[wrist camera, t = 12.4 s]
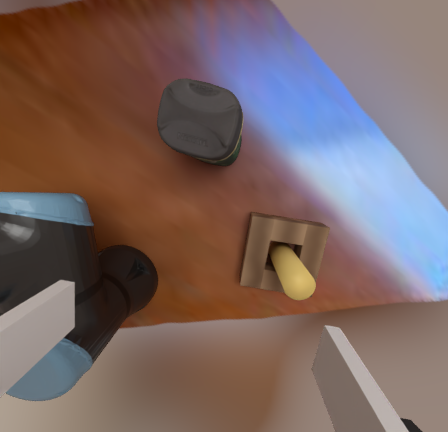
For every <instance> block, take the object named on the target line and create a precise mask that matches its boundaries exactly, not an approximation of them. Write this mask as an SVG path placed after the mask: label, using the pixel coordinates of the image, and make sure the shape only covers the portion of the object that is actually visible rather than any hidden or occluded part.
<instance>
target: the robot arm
mask: <svg viewBox="0 0 448 432" xmlns="http://www.w3.org/2000/svg"><path fill="white" fill-rule="evenodd" d="M93 226H94V223H93V222H92V220H91V217H90V213H89V209H88V205H87V203H86V201H85V200H84V198H82V197H81V196H79V195H77V194H73V193H29V192H0V397H2V396H3V395H4V394H5V393H6V394H8V395H10V396H13V397H16V398H19V399H24V400H30V401H45V400H51V399H54V398H57V397H59V396H61V395H63V394H65V393H66V392H68V391H69V390H70V389H71V388H72V387H73V386H74V385H75V384H76V383H77V381H78V380H79V379H80V378H81V376H83V374H84V373H85V372H87V371H88V370H89V369H90V368H91V366H92V364H93V363H94V361H95V360H96V359H97V357H98V356H99V355H100V353H101V352H102V350H103V349H104V348H105V347H106V345H107V344H108V342H109V341H110V340H111V338H112V337H113V335H114V334H115V333H116V331H117V330H118V329H119V327H120V326H121V325H122V323H123V322H124V321H125V319H126V318H128V317H129V316H130V315H132V314H133V313H135V312H137V311H139V310H141V309H142V308H144V307H145V306H146V305H147V304H148V303H149V301H150V300H151V298H152V297H153V295H154V294H155V292H156V289H157V285H158V277H157V272H156V269H155V267H154V265H153V263H152V262H151V260H150V259H149V258H148V257H147V256H146V255H145V254H144V253H142V252H141V251H139V250H137V249H135V248H133V247H130V246H124V245H116V246H111V247H108V248H106V249H104V250H102V251H101V252H99V253H98V251H97V246H96V241H95V236H94V230H93ZM312 371H313V374H314V376H315V379H316V382H317V385H318V387H319V390H320V392H321V395H322V398H323V400H324V403H325V405H326V408H327V411H328V413H329V415H330V418H331V421H332V424H333V426H334V429H335V431H336V432H422V431H421V430H420V429H419V428H418V427H417V426H416V425H415V424H414V423H413V422H412V421H411V420H408V419H403V418H399V416H398V415H397V413H396V412H395V410H394V409H393V407H392V406H391V404H390V403H389V401H388V400H387V398H386V397H385V395H384V394H383V392H382V391H381V389H380V388H379V386H378V385H377V383H376V382H375V380H374V379H373V377H372V376H371V374H370V373H369V371H368V370H367V368H366V367H365V365H364V364H363V362H362V361H361V359H360V358H359V356H358V355H357V353H356V352H355V350H354V349H353V347H352V346H351V344H350V343H349V341H348V340H347V338H346V337H345V335H344V334H343V332H342V331H341V329H340V328H338V327H332V326H326V325H324V328H323V332H322V335H321V339H320V342H319V346H318V349H317V353H316V356H315V359H314V363H313V367H312Z"/></svg>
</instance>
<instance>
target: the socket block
mask: <svg viewBox="0 0 448 432" xmlns="http://www.w3.org/2000/svg"><path fill="white" fill-rule="evenodd" d="M329 230H330V228H329V227H327V226H326V225H324V224H322V223H319V222H312V221H306V220H300V219H293V218H287V217H281V216H274V215H268V214H262V213H255V212H251V215H250V221H249V227H248V232H247V238H246V243H245V249H244V254H243V260H242V265H241V271H240V285H242V286H248V287H254V288H259V289H265V290H271V291H277V292H283V293H285V291H284V289H283V286H282V284H281V282H280V279H279V277H278V274H277V272H276V270H275V267H274V265H273V263H270V262H266V259H267V254H268V249H269V244H270V240H272V241H278V242H284V243H291V244H295V248H294V253H295V254H296V255H297V257H298V258H299V259H300V261H301V262H302V263H303V265H304V266H305V267H306V269H307V270H308V271H309V273H310V274H311V275H312V277H313V278H314V280H315V283H316V279H317V275H318V272H319V268H320V264H321V260H322V256H323V253H324V249H325V245H326V241H327V238H328V234H329ZM310 297H312V295H311V296H310Z"/></svg>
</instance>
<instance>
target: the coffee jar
mask: <svg viewBox="0 0 448 432" xmlns="http://www.w3.org/2000/svg"><path fill="white" fill-rule="evenodd" d="M242 126H243V112H242V109H241V106H240V104H239V101H238V100H237V98H236V96H235V95H234V94H233V93H232V92H230V91H229V90H227V89H224V88H221V87H219V86H216V85H213V84H210V83H206V82H202V81H197V80H191V79H178V80H176V81H173V82H172V83H170V84H169V85H168V86H167V87H166V88H165V89H164V91H163V94H162V97H161V101H160V106H159V111H158V119H157V127H158V131H159V134H160V136H161V138H162V140H163V141H164V142H165V143H166V144H167V145H168V146H169V147H171V148H172V149H174V150H176V151H177V152H180V153H183V154H186V155H189V156H191V157H194V158H196V159H198V160H201V161H204V162H207V163H210V164H214V165H220V166H228V165H230V164H232V163H233V162H234V161H235V160H236V158H237V156H238V153H239V150H240V146H241V131H242Z"/></svg>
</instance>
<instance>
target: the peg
mask: <svg viewBox="0 0 448 432" xmlns="http://www.w3.org/2000/svg"><path fill="white" fill-rule="evenodd" d="M268 252H269V255H270V258H271V260H272V262H273V265H274V267H275V270H276V272H277V274H278V277H279V279H280V282H281V284H282V286H283V289H284V291H285V293H286V294H287V296H289V297H290V298H292V299H295V300H303V299H306V298H308V297H310V296H311V295H312V294H313V292H314V290H315V286H316V284H315V280H314V278H313V277H312V275H311V274H310V273H309V271H308V270H307V269H306V267H305V266H304V265H303V263H302V262H301V261H300V259H299V258H298V257H297V255H296V254H295V253H294V251H293V250H292V249H291V247H290V246H289V245H288V243H284V242H278V241H274V242H272V243H271V244H270V246H269V249H268Z"/></svg>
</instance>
